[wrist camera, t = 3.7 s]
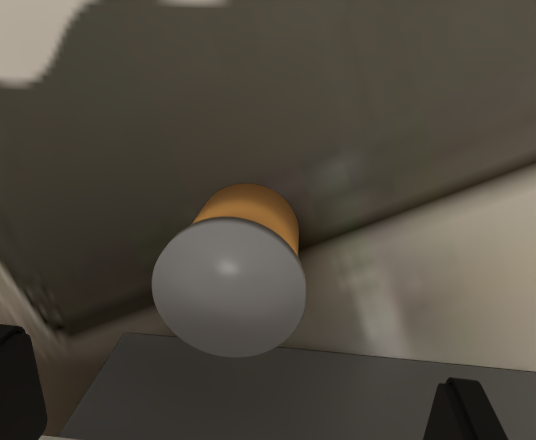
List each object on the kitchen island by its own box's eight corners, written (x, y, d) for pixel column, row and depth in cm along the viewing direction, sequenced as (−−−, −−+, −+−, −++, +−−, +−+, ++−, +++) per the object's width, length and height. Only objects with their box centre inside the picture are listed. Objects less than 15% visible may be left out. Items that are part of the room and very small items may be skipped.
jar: (189, 172, 17) (146, 218, 12) (311, 180, 17) (312, 230, 12) (192, 277, 19) (156, 349, 14) (301, 286, 19) (299, 364, 14)
